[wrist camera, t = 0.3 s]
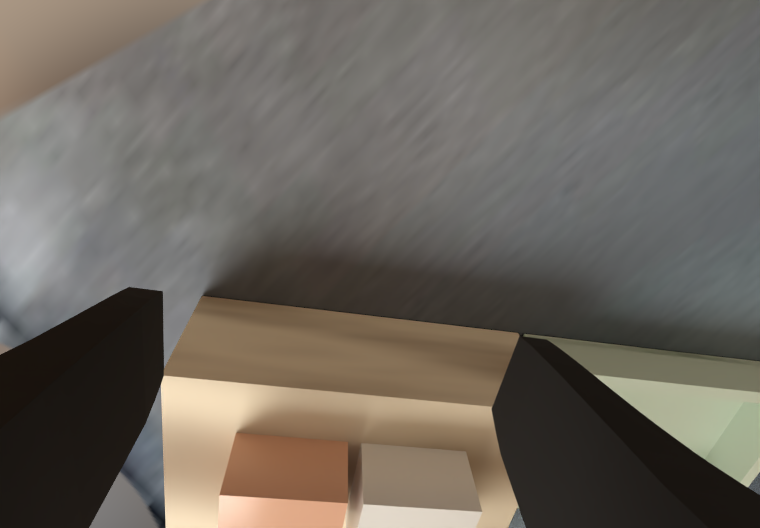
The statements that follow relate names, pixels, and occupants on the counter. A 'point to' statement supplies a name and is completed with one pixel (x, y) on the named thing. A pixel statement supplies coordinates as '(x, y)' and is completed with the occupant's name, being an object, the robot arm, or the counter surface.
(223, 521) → the terracotta tile
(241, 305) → the wooden box
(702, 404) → the box
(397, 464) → the cream square block
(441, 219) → the counter surface
